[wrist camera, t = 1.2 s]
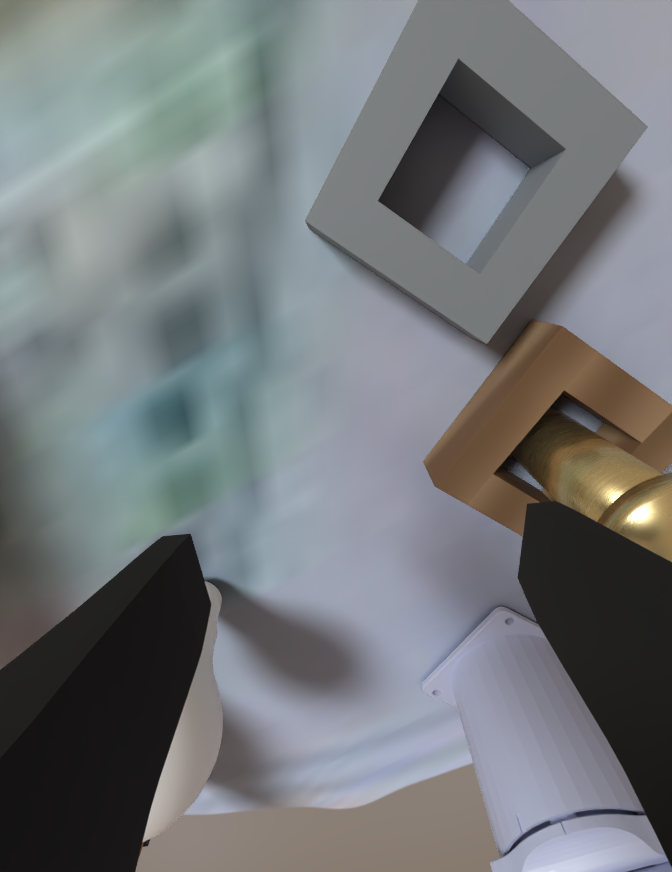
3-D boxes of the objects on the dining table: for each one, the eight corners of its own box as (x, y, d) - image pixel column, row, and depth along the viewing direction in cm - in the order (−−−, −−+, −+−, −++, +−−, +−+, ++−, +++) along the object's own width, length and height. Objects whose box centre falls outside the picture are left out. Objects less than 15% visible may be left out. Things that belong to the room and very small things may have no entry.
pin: (604, 422, 19) (804, 532, 11) (541, 491, 21) (677, 633, 12) (535, 375, 18) (696, 456, 10) (474, 450, 20) (572, 574, 12)
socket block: (599, 149, 15) (647, 126, 13) (466, 335, 18) (486, 344, 15) (427, 1, 13) (446, -55, 11) (309, 228, 16) (305, 220, 14)
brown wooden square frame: (659, 410, 19) (705, 429, 17) (544, 531, 21) (569, 562, 19) (532, 319, 17) (562, 326, 15) (423, 461, 20) (434, 486, 18)
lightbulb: (259, 549, 22) (194, 789, 12) (254, 631, 24) (195, 893, 14) (146, 538, 22) (-24, 774, 11) (152, 622, 24) (15, 883, 14)
